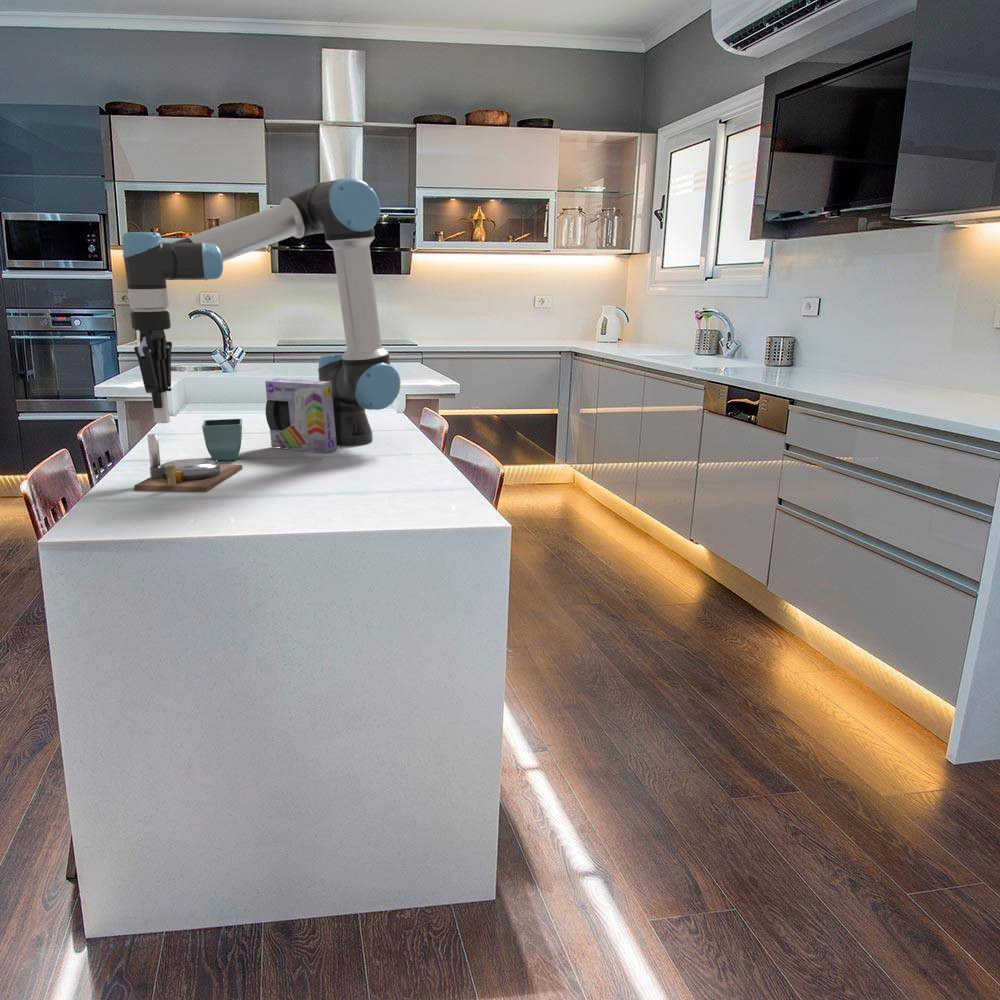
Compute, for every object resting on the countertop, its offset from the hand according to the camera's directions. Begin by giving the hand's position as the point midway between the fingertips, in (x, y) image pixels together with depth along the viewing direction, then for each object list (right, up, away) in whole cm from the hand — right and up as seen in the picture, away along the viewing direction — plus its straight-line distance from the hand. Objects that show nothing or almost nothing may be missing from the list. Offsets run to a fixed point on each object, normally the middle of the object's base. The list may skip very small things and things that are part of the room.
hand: (162, 422), depth 182 cm
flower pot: (+6, -7, +21) cm, 23 cm away
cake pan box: (+22, -4, +33) cm, 40 cm away
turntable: (+5, -11, 0) cm, 12 cm away
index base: (+6, -12, +1) cm, 14 cm away
